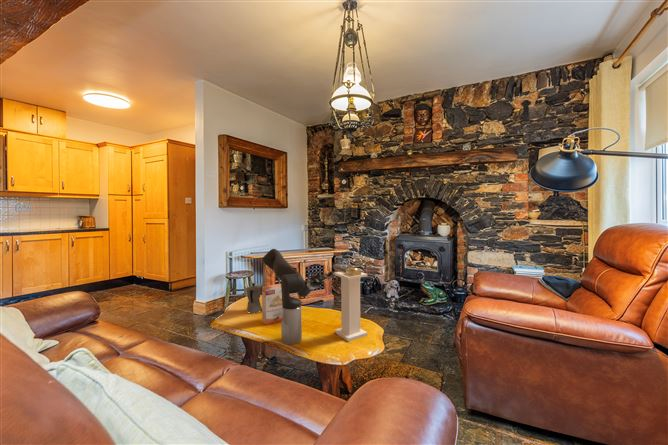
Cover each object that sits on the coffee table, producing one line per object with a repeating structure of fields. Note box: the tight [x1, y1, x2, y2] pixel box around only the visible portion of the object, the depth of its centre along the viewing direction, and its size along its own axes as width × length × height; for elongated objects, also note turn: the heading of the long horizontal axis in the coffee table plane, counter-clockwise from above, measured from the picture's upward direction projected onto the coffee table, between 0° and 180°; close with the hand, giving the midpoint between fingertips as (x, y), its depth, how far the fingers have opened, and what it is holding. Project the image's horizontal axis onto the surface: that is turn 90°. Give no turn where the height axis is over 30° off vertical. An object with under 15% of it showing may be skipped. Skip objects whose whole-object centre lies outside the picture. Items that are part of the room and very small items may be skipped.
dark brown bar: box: [332, 264, 362, 276], centre depth 151 cm, size 5×20×3 cm, turn 33°
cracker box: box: [261, 282, 283, 326], centre depth 166 cm, size 14×6×21 cm, turn 126°
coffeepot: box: [245, 282, 262, 314], centre depth 181 cm, size 15×9×18 cm, turn 6°
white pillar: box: [333, 271, 368, 343], centre depth 148 cm, size 12×12×32 cm
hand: (326, 273), depth 167 cm, fingers open, 8 cm apart
